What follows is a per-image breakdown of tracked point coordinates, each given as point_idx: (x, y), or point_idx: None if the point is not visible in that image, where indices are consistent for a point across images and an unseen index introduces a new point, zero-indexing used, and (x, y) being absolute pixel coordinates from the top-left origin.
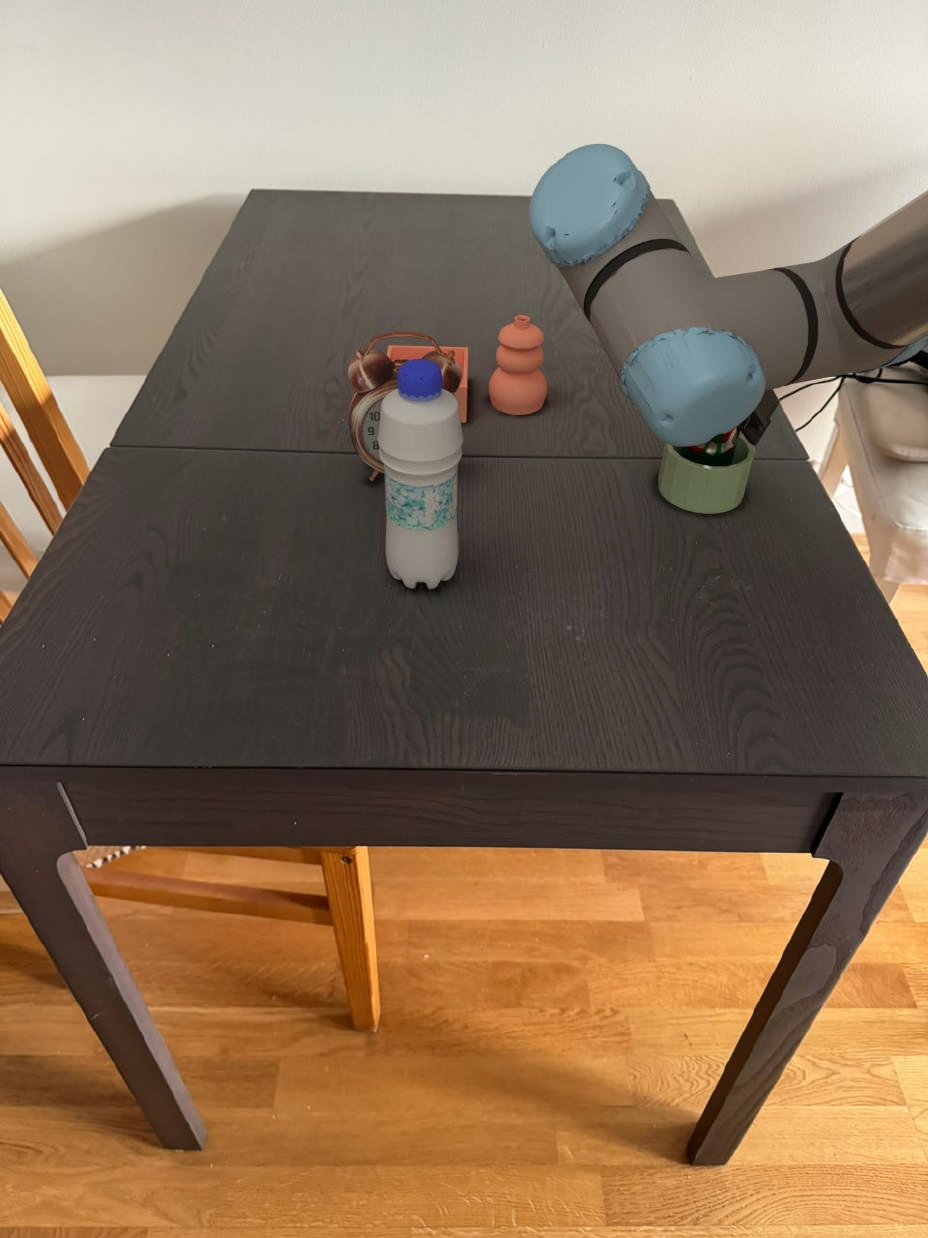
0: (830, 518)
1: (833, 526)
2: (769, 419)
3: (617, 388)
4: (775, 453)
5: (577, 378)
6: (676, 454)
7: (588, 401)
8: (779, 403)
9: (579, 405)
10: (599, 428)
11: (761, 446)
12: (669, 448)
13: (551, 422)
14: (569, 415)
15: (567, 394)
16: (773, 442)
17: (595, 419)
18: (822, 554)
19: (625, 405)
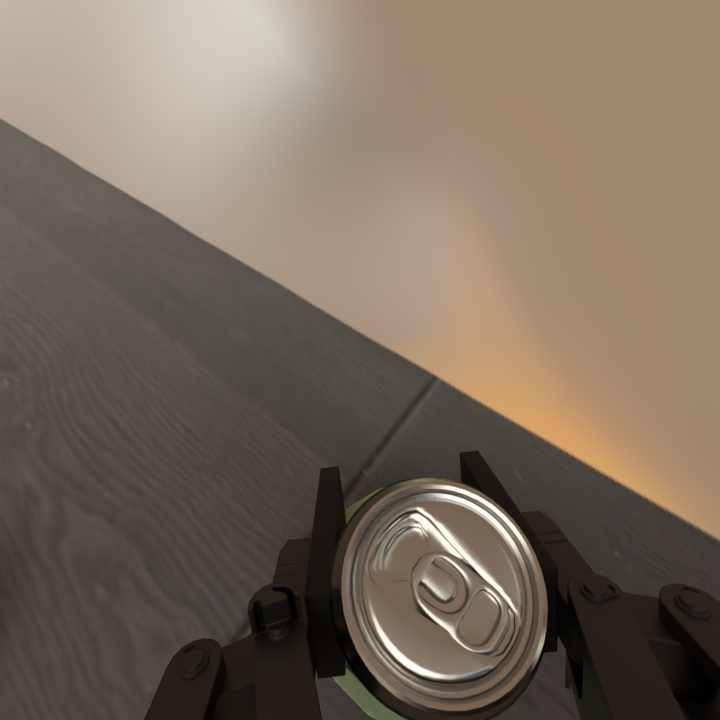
0: (592, 467)
1: (614, 482)
2: (482, 459)
3: (91, 444)
4: (403, 390)
5: (9, 477)
6: (398, 716)
7: (65, 525)
8: (709, 597)
9: (56, 553)
10: (133, 589)
11: (375, 391)
12: (367, 707)
13: (32, 668)
14: (55, 604)
15: (15, 540)
16: (379, 369)
17: (109, 567)
18: (686, 573)
19: (132, 476)
